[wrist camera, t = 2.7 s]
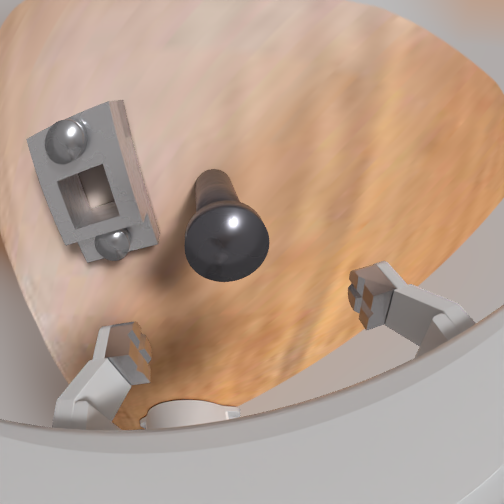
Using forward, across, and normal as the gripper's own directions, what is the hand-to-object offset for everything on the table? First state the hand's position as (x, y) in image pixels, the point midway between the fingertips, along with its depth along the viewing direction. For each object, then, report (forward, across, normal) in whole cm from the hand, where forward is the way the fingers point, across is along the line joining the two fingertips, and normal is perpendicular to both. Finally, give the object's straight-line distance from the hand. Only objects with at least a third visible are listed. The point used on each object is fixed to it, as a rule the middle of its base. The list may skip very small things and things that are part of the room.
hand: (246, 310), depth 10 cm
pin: (+15, 0, -1) cm, 15 cm away
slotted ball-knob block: (+15, -9, +2) cm, 18 cm away
